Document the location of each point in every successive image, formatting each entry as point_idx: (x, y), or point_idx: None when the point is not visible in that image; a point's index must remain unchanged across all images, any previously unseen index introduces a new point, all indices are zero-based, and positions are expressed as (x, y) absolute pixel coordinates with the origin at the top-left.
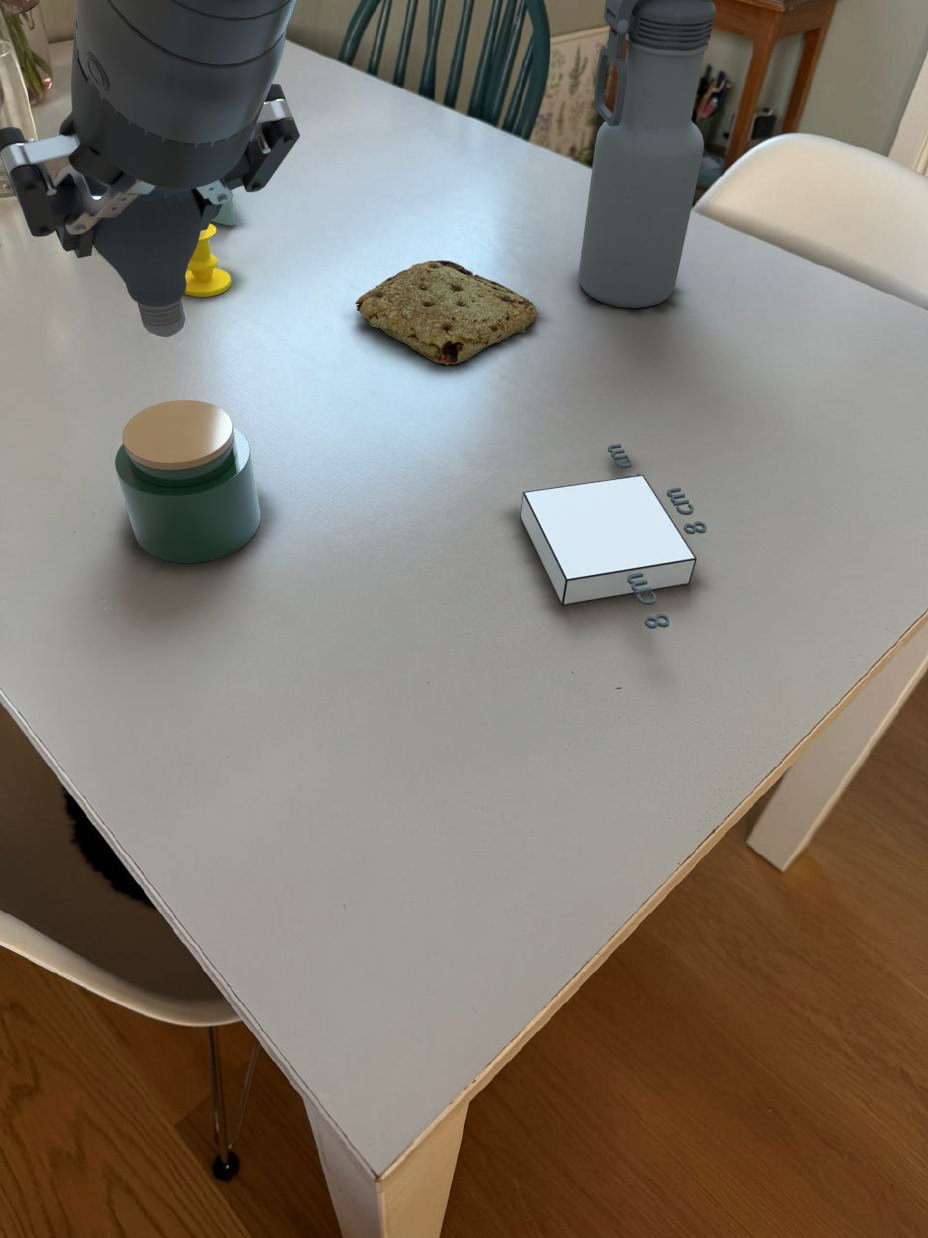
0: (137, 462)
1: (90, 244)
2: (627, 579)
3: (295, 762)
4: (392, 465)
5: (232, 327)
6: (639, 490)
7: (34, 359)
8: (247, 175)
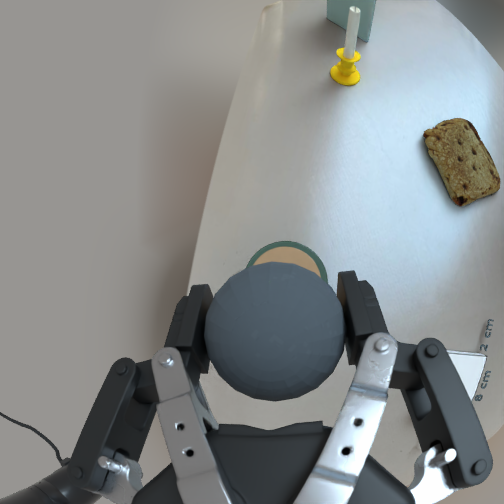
0: None
1: None
2: None
3: None
4: (402, 281)
5: (353, 114)
6: (480, 366)
7: (242, 107)
8: (406, 398)
